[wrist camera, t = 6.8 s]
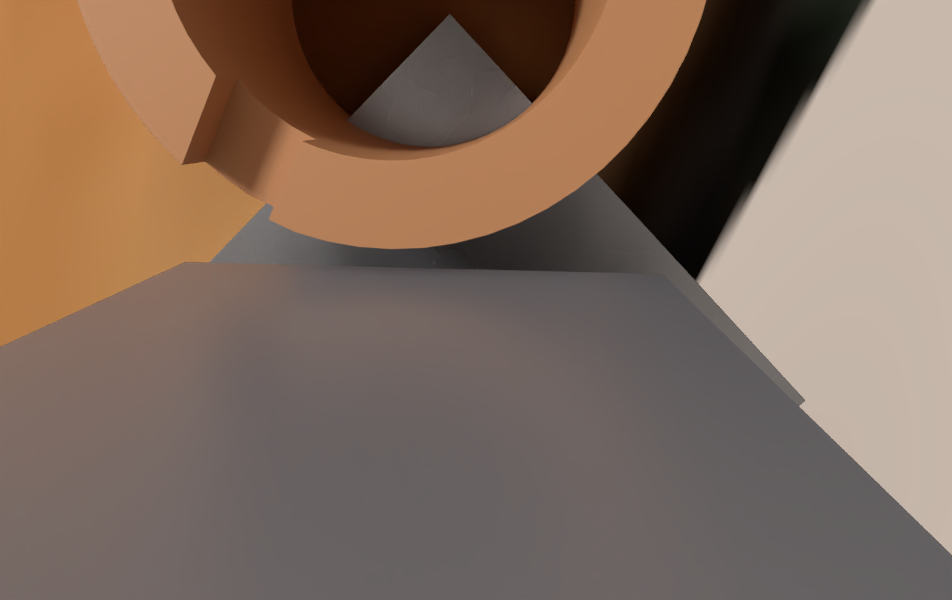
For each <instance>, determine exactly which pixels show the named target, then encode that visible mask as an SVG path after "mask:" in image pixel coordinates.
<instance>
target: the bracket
mask: <svg viewBox="0 0 952 600" xmlns="http://www.w3.org/2000/svg"><path fill="white" fill-rule="evenodd" d="M77 2H78V5H79V8H80V11H81V14H82V16H83V19H84V21H85V24H86V26H87V29H88V31H89V33H90V36H91V38H92V41H93V43H94V45H95V47H96V49H97V51H98V53H99V55H100V57H101V59H102V61H103V63H104V65H105V67H106V69H107V71H108V73H109V74H110V76H111V78H112V79H113V81H114V83H115V84H116V86H117V87H118V89H119V90H120V92H121V93H122V95H123V97H124V98H125V100H126V101H127V103H128V104H129V106H130V107H131V108H132V110H133V111H134V112H135V114H136V115H137V116H138V117H139V119H140V120H141V121H142V122H143V124H144V125H145V126H146V127H147V129H148V130H149V131H150V133H151V134H152V135H153V136H154V137H155V138H156V139H157V140H158V141H159V142H160V143H161V144H162V145H163V146H164V147H165V148H166V149H167V150H168V152H169V153H170V154H171V155H172V156H173V157H174V158H175V159H176V160H177V161H178V162H179V163H181V164H182V165H184V164H191V163H198V162H206V163H208V164H209V165H210V166H211V167H212V168H214V169H215V170H216V171H217V172H218V173H220V174H221V175H222V176H223V177H224V178H226V179H227V180H229V181H230V182H231V183H233V184H234V185H236V186H237V187H239V188H240V189H242V190H243V191H244V192H246V193H247V194H249V195H250V196H252V197H254V198H257V199H259V200H261V201H263V202H265V203H267V204H269V205H271V206H273V207H274V208H273V210H272V212H271V215H270V217H269V220H271V221H273V222H275V223H277V224H279V225H281V226H283V227H285V228H287V229H290V230H292V231H294V232H297V233H300V234H303V235H307V236H310V237H314V238H317V239H321V240H324V241H328V242H334V243H340V244H345V245H351V246H356V247H368V248H382V249H407V248H426V247H433V246H440V245H447V244H453V243H458V242H462V241H466V240H470V239H474V238H478V237H481V236H485V235H488V234H491V233H494V232H496V231H499V230H502V229H504V228H507V227H510V226H512V225H515V224H518V223H520V222H522V221H524V220H526V219H528V218H530V217H532V216H534V215H536V214H538V213H540V212H542V211H544V210H546V209H548V208H549V207H551V206H552V205H554V204H555V203H557V202H558V201H560V200H561V199H563V198H565V197H566V196H568V195H569V194H571V193H572V192H574V191H575V190H577V189H578V188H579V187H580V186H582V185H583V184H584V183H585V182H587V181H588V180H589V179H590V178H592V177H593V176H594V175H595V174H597V173H598V172H599V171H600V170H602V169H603V168H604V167H605V166H606V165H607V164H608V163H609V162H610V161H611V160H612V159H613V158H614V157H615V156H616V155H617V154H618V153H619V152H620V151H621V150H622V149H623V148H624V147H625V146H626V145H627V144H628V143H629V141H630V140H631V139H632V138H633V137H634V135H635V134H636V133H637V132H638V130H639V129H640V128H641V127H642V126H643V124H644V123H645V122H646V121H647V119H648V118H649V117H650V116H651V114H652V113H653V111H654V110H655V108H656V106H657V105H658V103H659V102H660V100H661V99H662V97H663V96H664V94H665V93H666V91H667V90H668V88H669V87H670V85H671V83H672V81H673V79H674V77H675V75H676V73H677V72H678V70H679V68H680V66H681V64H682V62H683V60H684V58H685V56H686V54H687V52H688V50H689V47H690V45H691V42H692V40H693V37H694V35H695V32H696V30H697V27H698V25H699V22H700V20H701V17H702V13H703V10H704V6H705V3H706V0H575V11H574V18H573V25H572V29H571V33H570V37H569V41H568V44H567V47H566V50H565V52H564V55H563V58H562V60H561V62H560V64H559V66H558V68H557V70H556V72H555V74H554V75H553V77H552V78H551V80H550V82H549V83H548V85H547V86H546V87H545V89H544V90H543V91H542V92H541V94H540V95H539V96H538V97H537V98H536V100H535V101H534V102H533V103H532V105H531V106H530V107H529V108H527V109H526V110H525V111H524V112H523V113H521V114H520V115H519V116H518V117H517V118H515V119H514V120H512V121H511V122H509V123H508V124H506V125H505V126H503V127H501V128H499V129H497V130H496V131H494V132H492V133H490V134H488V135H485V136H482V137H480V138H477V139H475V140H471V141H467V142H464V143H460V144H454V145H447V146H433V147H425V146H411V145H406V144H401V143H396V142H392V141H389V140H386V139H383V138H380V137H377V136H375V135H373V134H370V133H368V132H366V131H364V130H362V129H360V128H359V127H357V126H355V125H353V124H352V123H350V122H349V121H347V120H348V119H349V118H350V117H351V116H350V115H349V114H348V113H347V112H345V111H344V110H343V109H342V108H341V107H340V106H339V105H338V104H337V103H336V102H335V101H334V100H333V99H332V98H331V97H330V96H329V95H328V94H327V92H326V91H325V90H324V88H323V87H322V86H321V84H320V83H319V82H318V80H317V78H316V77H315V75H314V73H313V72H312V70H311V68H310V66H309V64H308V62H307V60H306V58H305V56H304V54H303V51H302V48H301V45H300V42H299V39H298V36H297V32H296V28H295V23H294V17H293V10H292V0H77Z"/></svg>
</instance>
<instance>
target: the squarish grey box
mask: <svg viewBox="0 0 952 600" xmlns="http://www.w3.org/2000/svg"><path fill="white" fill-rule="evenodd" d="M0 600H952V555H951V554H950V553H949V552H948V551H947V550H946V549H945V548H944V547H943V546H942V545H941V544H940V543H939V542H938V541H937V540H936V539H935V538H934V537H933V536H932V535H931V534H930V533H928V532H927V531H926V530H925V529H924V528H923V527H922V526H921V525H920V524H919V523H918V522H917V521H916V520H915V519H914V518H913V517H912V516H911V515H910V514H909V513H908V512H907V511H906V510H905V509H904V508H903V507H902V506H901V505H899V503H898V502H897V501H896V500H895V499H894V498H892V497H891V496H890V495H889V494H888V493H887V492H886V491H885V490H884V489H883V488H882V487H881V486H880V485H879V484H878V483H877V482H876V481H875V480H874V479H873V478H872V477H871V476H870V475H869V474H868V473H867V472H866V471H865V470H864V469H863V468H862V467H861V466H859V464H858V463H857V462H855V461H854V460H853V459H852V458H851V457H850V456H849V455H848V454H847V453H846V452H845V451H844V450H843V449H842V448H841V447H840V446H839V445H838V444H837V443H836V442H835V441H834V440H833V439H831V437H830V436H829V435H828V434H827V433H825V432H824V430H823V429H822V428H821V427H819V426H818V425H817V424H816V423H815V422H814V421H813V420H812V419H811V418H810V417H809V416H808V415H807V414H806V413H805V412H804V411H803V410H802V409H801V408H800V407H799V406H798V405H797V404H796V403H795V402H794V401H793V400H792V399H791V398H790V397H789V396H788V395H787V394H786V393H785V392H783V391H782V390H781V389H780V388H779V387H778V386H777V385H776V384H775V383H774V382H773V381H772V380H771V379H770V378H769V377H768V376H767V375H766V374H765V373H764V372H763V371H762V370H761V369H760V368H759V367H758V366H757V365H756V364H755V363H754V362H753V361H752V360H751V359H750V358H749V357H747V356H746V355H745V354H744V353H743V352H742V351H741V350H740V349H739V348H738V347H737V346H736V345H735V344H734V343H733V342H732V341H731V340H730V339H729V338H728V337H727V336H726V335H725V334H724V333H723V332H722V331H721V330H720V329H719V328H718V327H717V326H716V325H715V324H714V323H713V322H711V321H710V320H709V319H708V318H707V317H706V316H705V315H704V314H703V313H702V312H701V311H700V310H699V309H698V308H697V307H696V306H695V305H694V304H693V303H692V302H691V301H690V300H689V299H688V298H687V297H686V296H685V295H684V294H683V293H682V292H681V291H680V290H679V289H678V288H677V287H675V286H674V285H673V284H672V283H671V282H670V281H669V280H668V279H667V278H666V277H665V276H664V275H663V274H639V273H599V272H560V271H520V270H480V269H441V268H401V267H362V266H322V265H282V264H243V263H203V262H184V263H182V264H179V265H177V266H175V267H173V268H171V269H169V270H166V271H164V272H162V273H160V274H158V275H156V276H153V277H151V278H149V279H147V280H145V281H142V282H140V283H138V284H136V285H134V286H132V287H129V288H127V289H125V290H123V291H121V292H119V293H116V294H114V295H112V296H110V297H108V298H106V299H103V300H101V301H99V302H97V303H95V304H93V305H90V306H88V307H86V308H84V309H82V310H79V311H77V312H75V313H73V314H71V315H69V316H66V317H64V318H62V319H60V320H58V321H56V322H53V323H51V324H49V325H47V326H45V327H43V328H40V329H38V330H36V331H34V332H32V333H29V334H27V335H25V336H23V337H21V338H19V339H16V340H14V341H12V342H10V343H8V344H6V345H3V346H1V347H0Z"/></svg>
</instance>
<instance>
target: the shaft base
mask: <svg viewBox="0 0 952 600" xmlns="http://www.w3.org/2000/svg"><path fill="white" fill-rule="evenodd" d="M531 105H532V103H531V102H530V101H529V99H528V98H527V97H526V96H525V95H524V94H523V93H522V92H521V91H520V90H519V89H518V87H517V86H516V85H515V84H514V83H513V82H512V81H511V80H510V79H509V78H508V77H507V75H506V74H505V73H504V72H503V71H502V70H501V69H500V68H499V67H498V66H497V65H496V64H495V62H494V61H493V60H492V59H491V58H490V57H489V56H488V55H487V54H486V53H485V52H484V50H483V49H482V48H481V47H480V46H479V45H478V44H477V43H476V42H475V41H474V40H473V38H472V37H471V36H470V35H469V34H468V33H467V32H466V31H465V30H464V29H463V28H462V27H461V25H460V24H459V23H458V22H457V21H456V20H455V19H454V18H453V17H452V16H451V15H450V14H449V15H448V16H447V17H446V18H445V19H444V20H443V21H442V22H441V23H440V25H439V26H438V27H437V28H436V29H435V30H434V31H433V32H432V33H431V34H430V35H429V36H428V37H427V38H426V39H425V40H424V41H423V42H422V43H421V44H420V45H419V46H418V47H417V48H416V49H415V50H414V51H413V52H412V53H411V55H410V56H409V57H408V58H407V59H406V60H405V61H404V62H403V63H402V64H401V65H400V66H399V67H398V68H397V69H396V70H395V71H394V72H393V73H392V74H391V75H390V76H389V77H388V78H387V79H386V80H385V81H384V82H383V83H382V85H381V86H380V87H379V88H378V89H377V90H376V91H375V92H374V93H373V94H372V95H371V96H370V97H369V98H368V99H367V100H366V101H365V102H364V103H363V104H362V105H361V106H360V107H359V108H358V109H357V110H356V111H355V112H354V113H353V115H352V116H351V117H350V118H349V119H348V120H347V121H349V122H350V123H352V124H353V125H355V126H357V127H359V128H360V129H362V130H364V131H366V132H368V133H370V134H373V135H375V136H377V137H380V138H383V139H386V140H389V141H392V142H396V143H401V144H406V145H411V146H425V147H433V146H447V145H454V144H460V143H464V142H467V141H471V140H475V139H477V138H480V137H482V136H485V135H488V134H490V133H492V132H494V131H496V130H497V129H499V128H501V127H503V126H505V125H506V124H508V123H509V122H511V121H512V120H514V119H515V118H517V117H518V116H519V115H520V114H521V113H523V112H524V111H525V110H526V109H527V108H529V107H530V106H531ZM273 208H274V207H273V206H271V205H269V204H267V203H266V205H265V206H264V207H263V208H262V209H261V210H260V211H259V212H258V213H257V214H256V215H255V216H254V217H253V218H252V219H251V220H250V221H249V222H248V223H247V224H246V225H245V226H244V227H243V228H242V229H241V230H240V231H239V232H238V233H237V235H236V236H235V237H234V238H233V239H232V240H231V241H230V242H229V243H228V244H227V245H226V246H225V247H224V248H223V249H222V250H221V251H220V252H219V253H218V254H217V255H216V256H215V257H214V258H213V259H212V260H211V261H210V262H209V263H243V264H282V265H322V266H362V267H401V268H441V269H480V270H520V271H560V272H599V273H639V274H663V275H664V276H665V277H666V278H667V279H668V280H669V281H670V282H671V283H672V284H673V285H674V286H675V287H677V288H678V289H679V290H680V291H681V292H682V293H683V294H684V295H685V296H686V297H687V298H688V299H689V300H690V301H691V302H692V303H693V304H694V305H695V306H696V307H697V308H698V309H699V310H700V311H701V312H702V313H703V314H704V315H705V316H706V317H707V318H708V319H709V320H710V321H711V322H713V323H714V324H715V325H716V326H717V327H718V328H719V329H720V330H721V331H722V332H723V333H724V334H725V335H726V336H727V337H728V338H729V339H730V340H731V341H732V342H733V343H734V344H735V345H736V346H737V347H738V348H739V349H740V350H741V351H742V352H743V353H744V354H745V355H746V356H747V357H749V358H750V359H751V360H752V361H753V362H754V363H755V364H756V365H757V366H758V367H759V368H760V369H761V370H762V371H763V372H764V373H765V374H766V375H767V376H768V377H769V378H770V379H771V380H772V381H773V382H774V383H775V384H776V385H777V386H778V387H779V388H780V389H781V390H782V391H783V392H785V393H786V394H787V395H788V396H789V397H790V398H791V399H792V400H793V401H794V402H795V403H796V404H797V405H798V406H799V405H800V404H802V403H803V402H804V401H805V400H804V399H803V397H802V396H801V395H800V394H799V393H798V392H797V391H796V390H795V389H794V388H793V387H792V386H791V384H790V383H789V382H788V381H787V380H786V379H785V378H784V377H783V376H782V375H781V374H780V373H779V371H778V370H777V369H776V368H775V367H774V366H773V365H772V364H771V363H770V362H769V360H768V359H767V358H766V357H765V356H764V355H763V354H762V353H761V352H760V351H759V350H758V349H757V348H756V346H755V345H754V344H753V343H752V342H751V341H750V340H749V339H748V338H747V337H746V335H744V333H743V332H742V331H741V330H740V329H739V328H738V327H737V326H736V325H735V323H733V321H732V320H731V319H730V318H729V317H728V316H727V315H726V314H725V313H724V312H723V310H722V309H721V308H720V307H719V306H718V305H717V304H716V303H715V302H714V301H713V300H712V299H711V297H710V296H709V295H708V294H707V293H706V292H705V291H704V290H703V289H702V288H701V287H700V285H699V284H698V283H697V282H696V281H695V280H694V279H693V278H692V277H691V276H690V275H689V273H688V272H687V271H686V270H685V269H684V268H683V267H682V266H681V265H680V264H679V263H678V261H677V260H676V259H675V258H674V257H673V256H672V255H671V254H670V253H669V252H668V251H667V250H666V248H665V247H664V246H663V245H662V244H661V243H660V242H659V241H658V240H657V239H656V238H655V236H654V235H653V234H652V233H651V232H650V231H649V230H648V229H647V228H646V227H645V226H644V225H643V223H642V222H641V221H640V220H639V219H638V218H637V217H636V216H635V215H634V214H633V213H632V211H631V210H630V209H629V208H628V207H627V206H626V205H625V204H624V203H623V202H622V201H621V199H620V198H619V197H618V196H617V195H616V194H615V193H614V192H613V191H612V190H611V189H610V188H609V186H608V185H607V184H606V183H605V182H604V181H603V180H602V179H601V178H600V177H599V176H598V174H595V175H594V176H593V177H592V178H590V179H589V180H588V181H587V182H585V183H584V184H583V185H582V186H580V187H579V188H578V189H577V190H575V191H574V192H572V193H571V194H569V195H568V196H566V197H565V198H563V199H561V200H560V201H558V202H557V203H555V204H554V205H552V206H551V207H549V208H548V209H546V210H544V211H542V212H540V213H538V214H536V215H534V216H532V217H530V218H528V219H526V220H524V221H522V222H520V223H518V224H515V225H512V226H510V227H507V228H504V229H502V230H499V231H496V232H494V233H491V234H488V235H485V236H481V237H478V238H474V239H470V240H466V241H462V242H458V243H453V244H447V245H440V246H433V247H426V248H407V249H382V248H368V247H356V246H351V245H345V244H340V243H334V242H328V241H324V240H321V239H317V238H314V237H310V236H307V235H303V234H300V233H297V232H294V231H292V230H290V229H287V228H285V227H283V226H281V225H279V224H277V223H275V222H273V221H271V220H269V217H270V215H271V212H272V210H273Z"/></svg>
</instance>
